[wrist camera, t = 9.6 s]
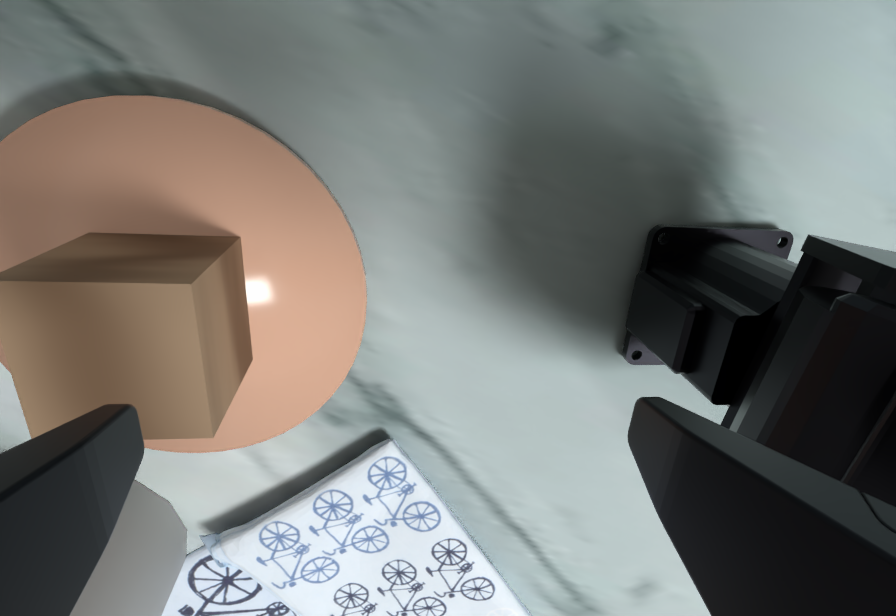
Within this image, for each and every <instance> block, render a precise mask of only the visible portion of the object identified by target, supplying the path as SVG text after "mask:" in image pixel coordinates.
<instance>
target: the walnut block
mask: <svg viewBox="0 0 896 616" xmlns="http://www.w3.org/2000/svg"><path fill="white" fill-rule="evenodd" d="M0 340H1V343H2V346H3V350H4V353H5V356H6V359H7V362H8V365H9V369H10V372H11V375H12V378H13V381H14V384H15V388H16V391H17V394H18V397H19V400H20V404H21V407H22V410H23V413H24V416H25V419H26V423H27V426H28V429H29V432H30V435H31V438H32V439H33V438H35V437H37V436H39V435H41V434H43V433H45V432H48V431H50V430H52V429H54V428H56V427H58V426H60V425H62V424H65V423H67V422H69V421H71V420H73V419H75V418H77V417H79V416H82V415H84V414H86V413H88V412H90V411H92V410H94V409H96V408H99V407H101V406H103V405H106V404H132V405H133V406H135V408H136V409H137V412H138V416H139V421H140V426H141V431H142V436H143V440H157V439H200V438H214V436H215V434H216V432H217V430H218V428H219V426H220V424H221V422H222V420H223V418H224V416H225V414H226V412H227V410H228V408H229V406H230V404H231V402H232V400H233V398H234V396H235V394H236V392H237V390H238V388H239V386H240V384H241V382H242V380H243V378H244V376H245V374H246V372H247V370H248V368H249V366H250V364H251V362H252V361H253V355H252V345H251V335H250V325H249V315H248V305H247V295H246V285H245V275H244V265H243V255H242V246H241V237H231V236H196V235H162V234H127V233H92V232H89V233H87V234H85V235H82V236H80V237H78V238H76V239H73V240H71V241H69V242H67V243H65V244H62V245H60V246H58V247H56V248H53V249H51V250H49V251H47V252H45V253H42V254H40V255H38V256H36V257H33V258H31V259H29V260H27V261H24V262H22V263H20V264H18V265H16V266H13V267H11V268H9V269H7V270H4V271H2V272H0Z"/></svg>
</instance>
